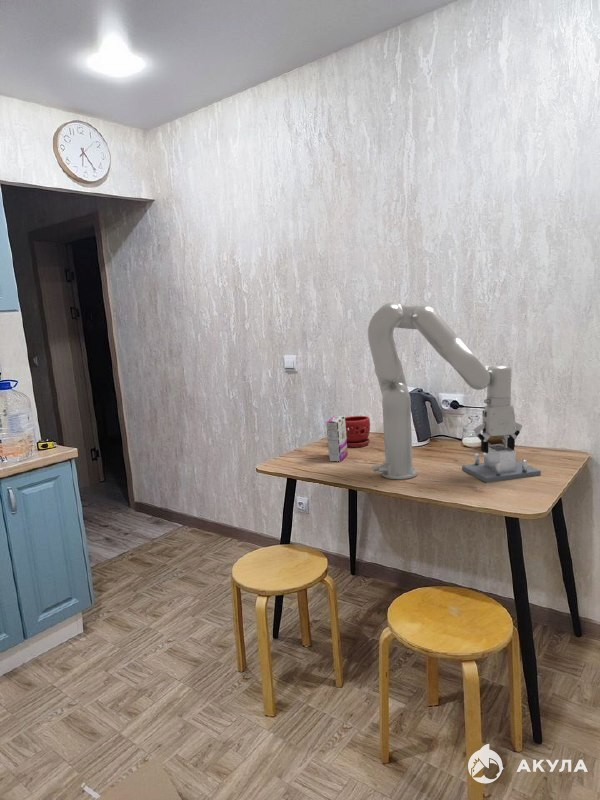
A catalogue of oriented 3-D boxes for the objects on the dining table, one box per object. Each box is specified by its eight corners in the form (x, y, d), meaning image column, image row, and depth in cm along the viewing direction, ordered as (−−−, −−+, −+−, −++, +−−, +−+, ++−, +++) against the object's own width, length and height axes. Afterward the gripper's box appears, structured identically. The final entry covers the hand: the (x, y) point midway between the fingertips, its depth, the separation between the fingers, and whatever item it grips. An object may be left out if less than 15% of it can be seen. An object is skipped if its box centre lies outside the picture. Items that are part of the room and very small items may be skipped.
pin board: (486, 482, 178) (486, 478, 178) (462, 469, 194) (462, 465, 194) (540, 475, 182) (540, 470, 182) (512, 462, 198) (512, 458, 197)
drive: (499, 473, 182) (499, 452, 181) (484, 465, 192) (483, 445, 191) (515, 470, 183) (515, 450, 182) (499, 463, 193) (499, 443, 192)
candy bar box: (336, 454, 226) (334, 415, 223) (348, 454, 224) (345, 415, 222) (328, 462, 216) (325, 421, 213) (340, 462, 214) (338, 421, 211)
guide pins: (497, 476, 179) (497, 464, 179) (473, 464, 194) (473, 453, 193) (528, 472, 181) (528, 460, 181) (502, 460, 196) (502, 449, 195)
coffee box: (482, 451, 215) (481, 411, 213) (485, 447, 221) (484, 408, 218) (506, 452, 211) (506, 411, 208) (509, 448, 216) (508, 408, 214)
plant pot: (373, 441, 244) (372, 414, 242) (367, 448, 232) (366, 421, 230) (344, 441, 248) (343, 415, 246) (337, 448, 236) (336, 421, 234)
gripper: (481, 405, 179) (480, 456, 181) (528, 401, 182) (527, 451, 185) (469, 401, 186) (469, 450, 189) (515, 398, 189) (514, 446, 192)
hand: (497, 451), depth 187 cm, fingers open, 9 cm apart
